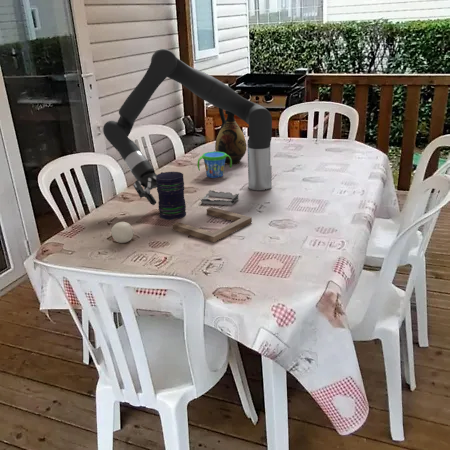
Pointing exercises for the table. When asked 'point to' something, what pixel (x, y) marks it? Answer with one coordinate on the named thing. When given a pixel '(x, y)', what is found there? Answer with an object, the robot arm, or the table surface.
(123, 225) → the white egg
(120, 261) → the table surface
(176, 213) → the dark blue ridged cylinder
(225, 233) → the walnut bay
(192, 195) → the table surface
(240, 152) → the ceramic jug
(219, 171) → the snack cup
